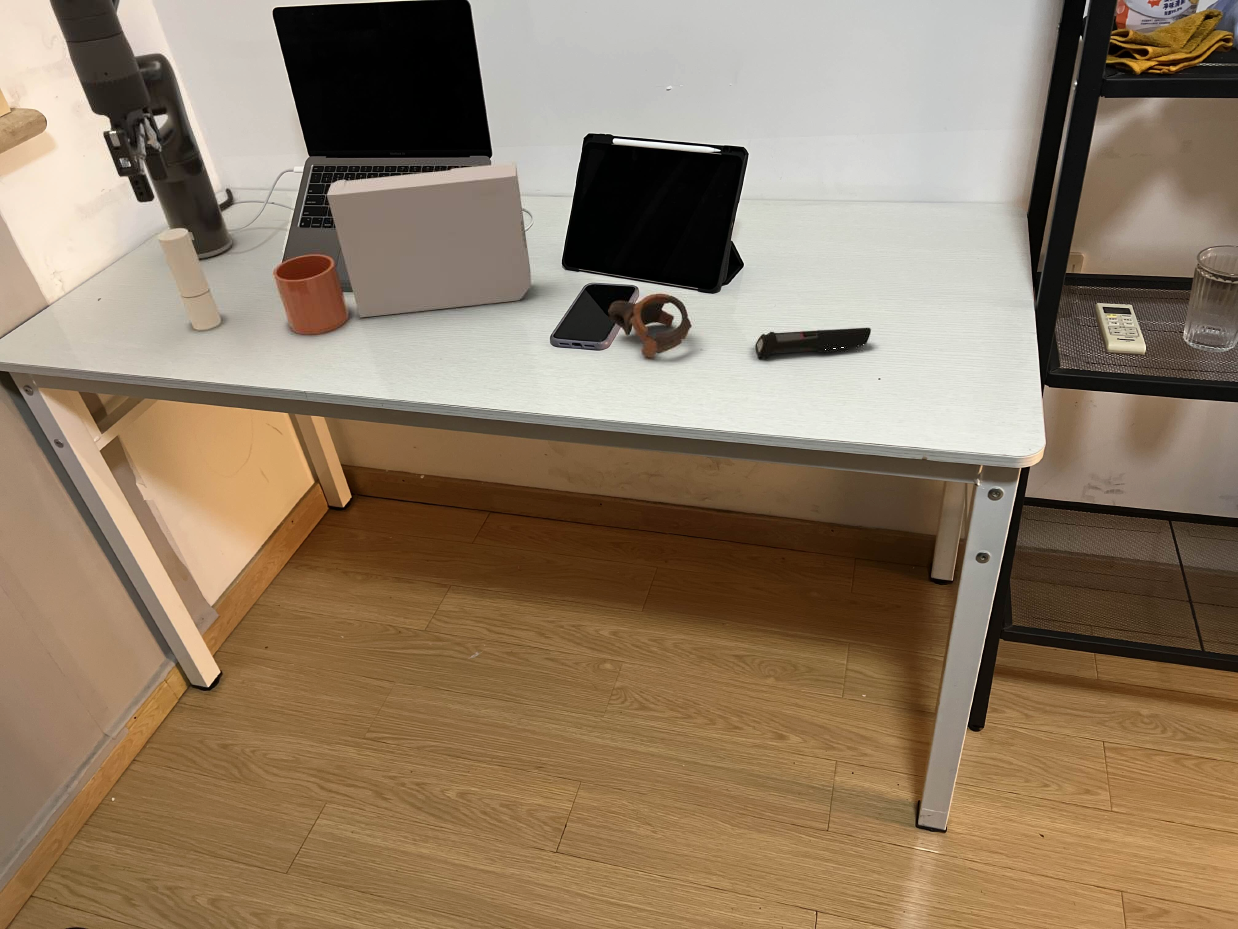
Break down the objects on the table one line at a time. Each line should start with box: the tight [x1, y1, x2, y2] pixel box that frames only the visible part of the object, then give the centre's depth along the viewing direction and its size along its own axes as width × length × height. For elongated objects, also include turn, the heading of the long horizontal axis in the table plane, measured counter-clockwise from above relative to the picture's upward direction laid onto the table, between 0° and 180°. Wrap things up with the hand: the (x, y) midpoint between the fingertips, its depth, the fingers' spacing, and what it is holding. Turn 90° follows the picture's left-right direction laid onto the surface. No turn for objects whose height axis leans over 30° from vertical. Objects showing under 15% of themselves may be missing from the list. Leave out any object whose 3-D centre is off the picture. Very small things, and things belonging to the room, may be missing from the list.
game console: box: [326, 161, 532, 318], centre depth 141 cm, size 6×27×20 cm, turn 96°
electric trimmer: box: [754, 327, 872, 360], centre depth 127 cm, size 4×16×3 cm, turn 91°
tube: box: [157, 228, 222, 331], centre depth 141 cm, size 4×4×15 cm
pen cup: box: [272, 253, 350, 336], centre depth 141 cm, size 9×9×9 cm
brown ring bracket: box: [607, 293, 693, 359], centre depth 131 cm, size 12×10×8 cm
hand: (154, 189), depth 132 cm, fingers open, 8 cm apart
